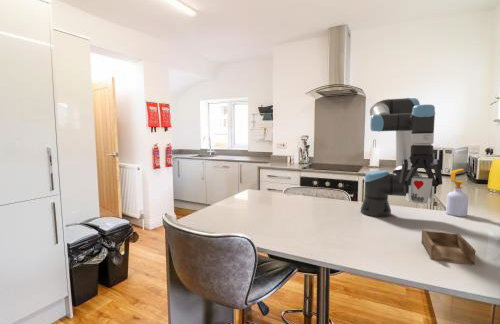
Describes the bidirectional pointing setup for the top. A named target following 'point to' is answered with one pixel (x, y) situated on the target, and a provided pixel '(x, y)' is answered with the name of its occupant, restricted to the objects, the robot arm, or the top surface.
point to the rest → (448, 247)
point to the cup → (420, 189)
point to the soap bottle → (457, 198)
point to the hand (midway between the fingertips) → (419, 201)
